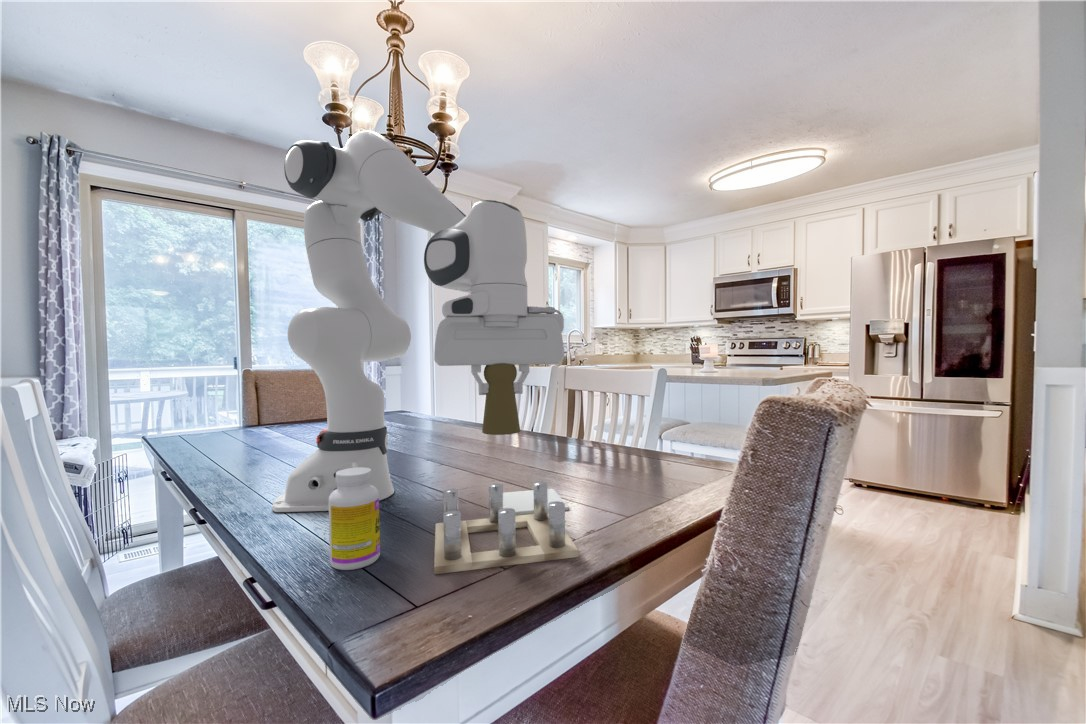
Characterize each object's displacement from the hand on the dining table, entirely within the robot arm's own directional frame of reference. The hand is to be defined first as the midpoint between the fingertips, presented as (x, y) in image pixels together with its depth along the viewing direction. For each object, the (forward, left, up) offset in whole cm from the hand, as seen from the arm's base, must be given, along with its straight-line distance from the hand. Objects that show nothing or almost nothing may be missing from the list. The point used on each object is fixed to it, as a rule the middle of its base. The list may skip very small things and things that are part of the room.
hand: (500, 394), depth 71 cm
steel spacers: (0, -2, -23) cm, 23 cm away
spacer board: (0, -2, -23) cm, 23 cm away
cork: (0, 0, -6) cm, 6 cm away
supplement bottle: (-21, -3, -23) cm, 32 cm away
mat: (+8, +15, -23) cm, 29 cm away
